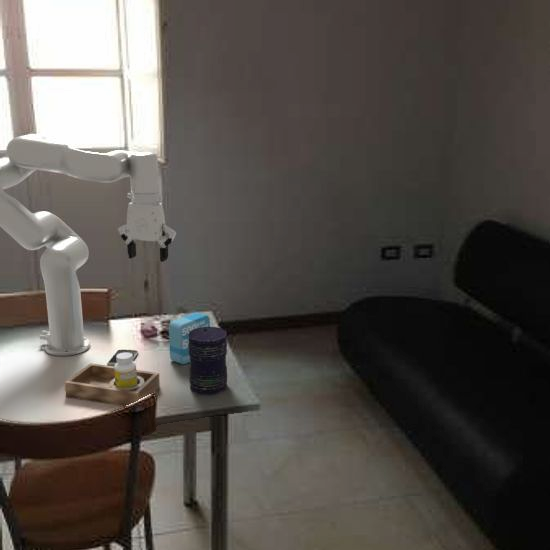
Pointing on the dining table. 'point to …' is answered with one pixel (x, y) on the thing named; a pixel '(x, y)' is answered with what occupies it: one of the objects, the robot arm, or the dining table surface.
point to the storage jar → (208, 360)
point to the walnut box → (109, 385)
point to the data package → (184, 335)
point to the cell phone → (113, 359)
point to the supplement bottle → (125, 371)
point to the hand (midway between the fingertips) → (148, 258)
